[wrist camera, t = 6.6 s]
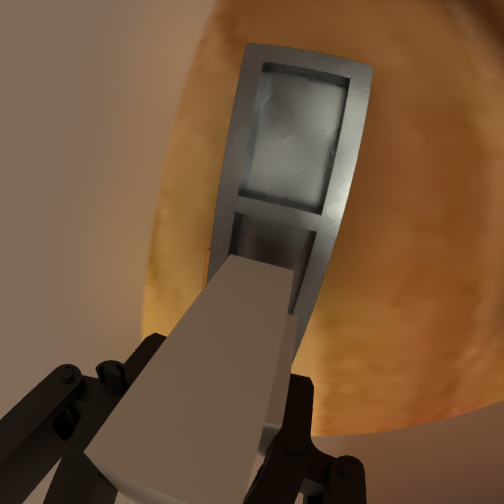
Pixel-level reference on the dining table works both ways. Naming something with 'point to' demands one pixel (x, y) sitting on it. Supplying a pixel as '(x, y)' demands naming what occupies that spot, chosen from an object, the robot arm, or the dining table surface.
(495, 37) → the dining table surface
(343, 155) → the rack
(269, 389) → the block
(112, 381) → the robot arm
